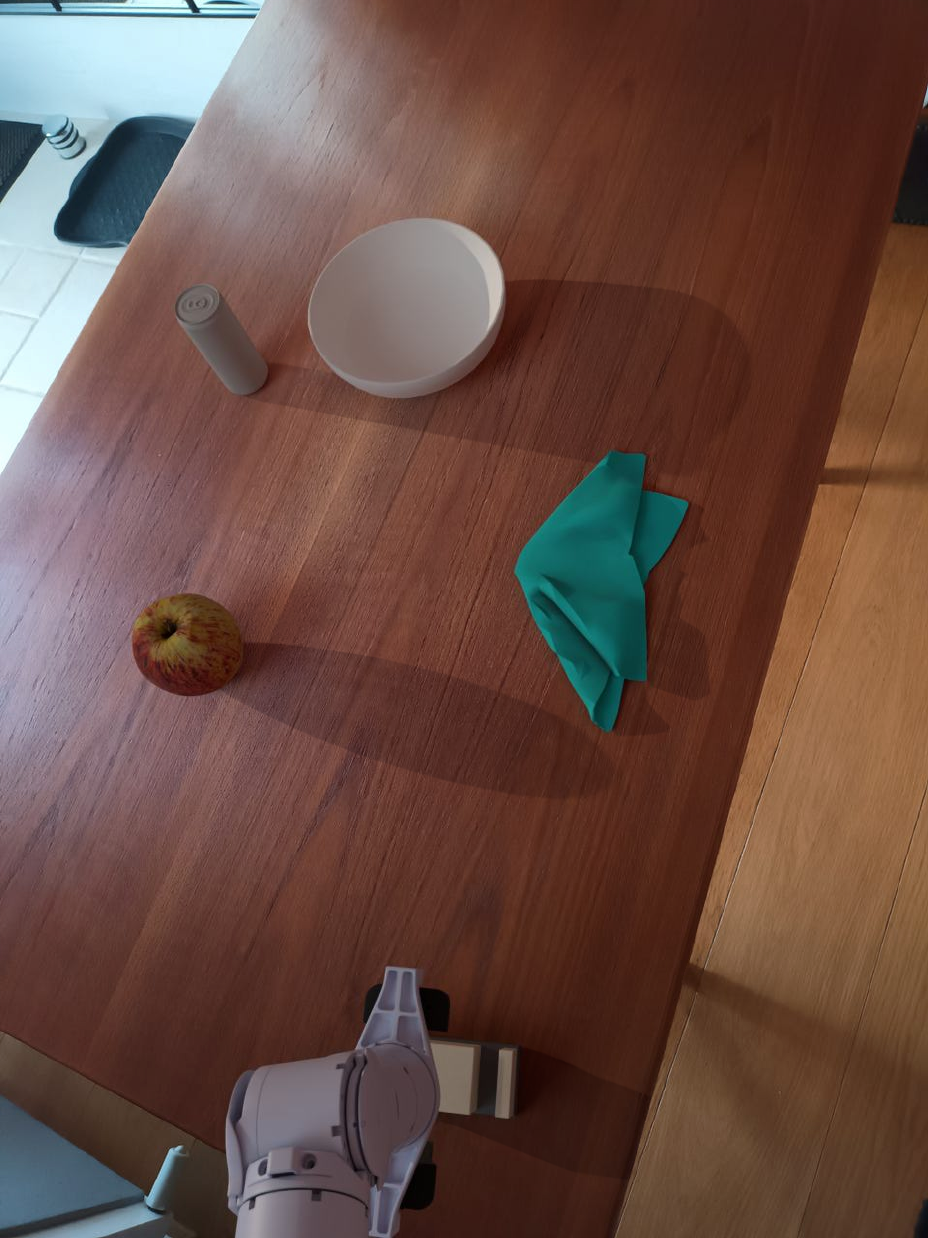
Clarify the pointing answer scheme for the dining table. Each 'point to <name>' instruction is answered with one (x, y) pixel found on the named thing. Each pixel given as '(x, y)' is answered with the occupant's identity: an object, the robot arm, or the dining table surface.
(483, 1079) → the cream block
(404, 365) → the bowl
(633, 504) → the cloth
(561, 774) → the dining table surface
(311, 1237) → the robot arm
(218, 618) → the apple
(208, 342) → the beverage can
